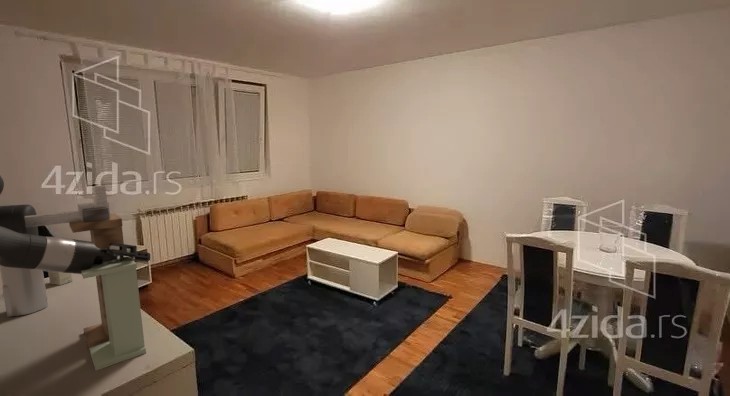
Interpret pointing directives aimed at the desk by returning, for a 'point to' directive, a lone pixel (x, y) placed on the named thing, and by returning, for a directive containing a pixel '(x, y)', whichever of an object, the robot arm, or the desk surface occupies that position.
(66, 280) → the skincare box
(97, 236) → the wooden pedestal post
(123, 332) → the green flanged bracket
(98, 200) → the grey stepped block
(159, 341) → the desk surface
